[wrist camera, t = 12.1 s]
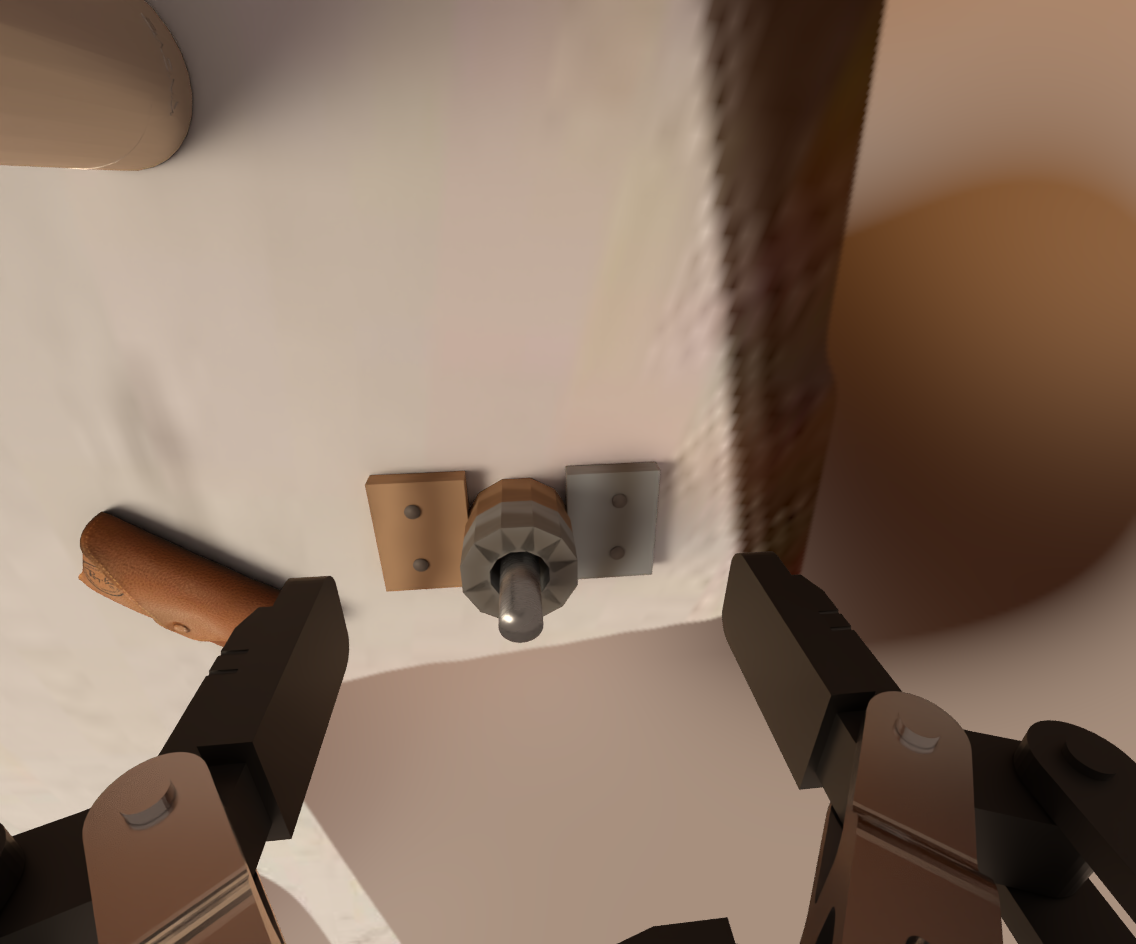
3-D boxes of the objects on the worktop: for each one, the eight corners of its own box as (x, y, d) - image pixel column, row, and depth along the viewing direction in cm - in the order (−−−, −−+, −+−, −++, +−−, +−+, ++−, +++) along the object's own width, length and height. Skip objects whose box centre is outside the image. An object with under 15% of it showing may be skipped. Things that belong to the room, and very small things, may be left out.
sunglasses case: (68, 582, 44) (24, 602, 37) (122, 505, 45) (88, 511, 39) (289, 667, 50) (282, 696, 44) (330, 596, 51) (330, 615, 45)
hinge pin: (502, 537, 46) (500, 644, 35) (500, 508, 44) (497, 610, 34) (536, 535, 46) (543, 640, 35) (535, 507, 44) (542, 607, 34)
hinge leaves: (390, 580, 46) (371, 640, 40) (369, 475, 42) (345, 525, 36) (648, 563, 48) (668, 619, 42) (655, 461, 44) (679, 507, 37)
